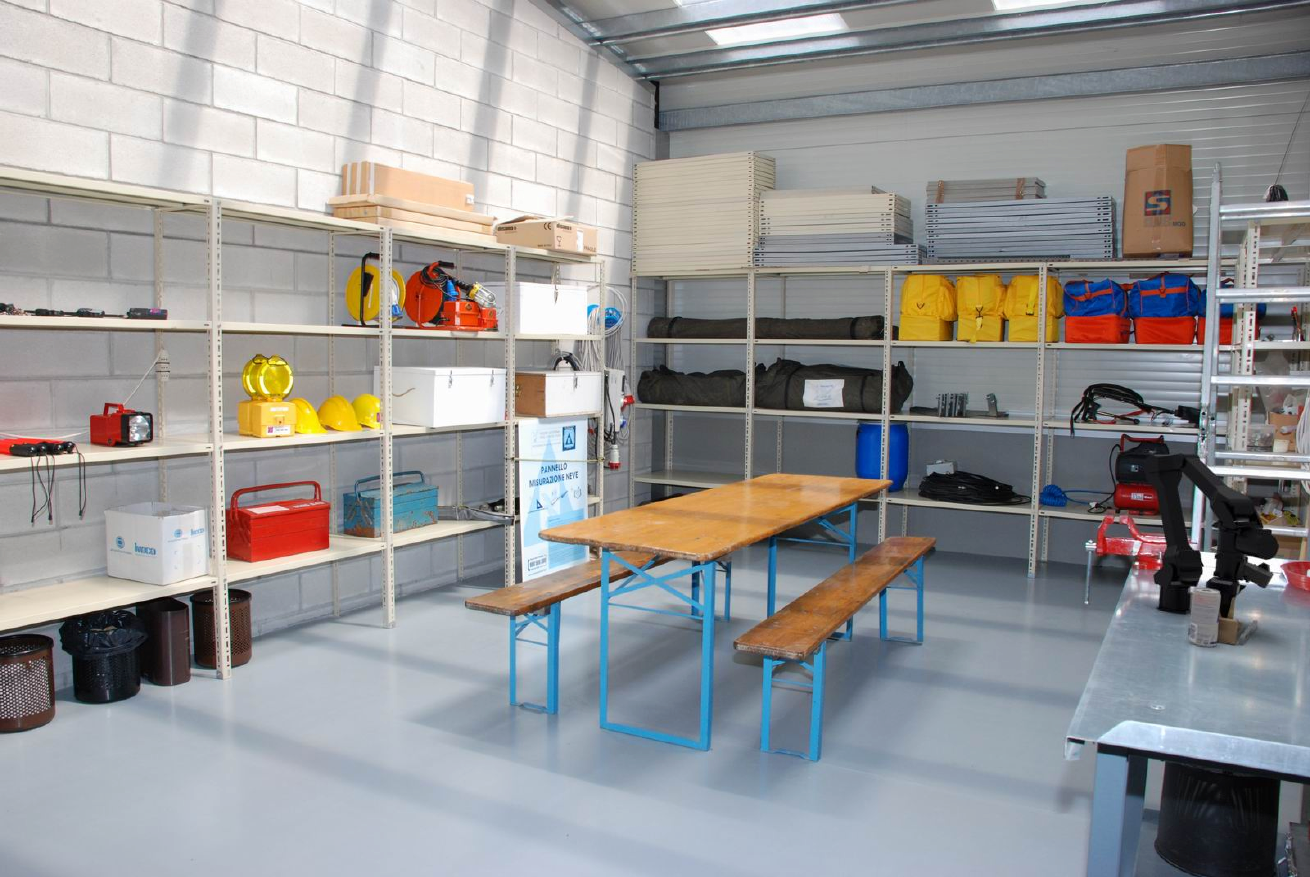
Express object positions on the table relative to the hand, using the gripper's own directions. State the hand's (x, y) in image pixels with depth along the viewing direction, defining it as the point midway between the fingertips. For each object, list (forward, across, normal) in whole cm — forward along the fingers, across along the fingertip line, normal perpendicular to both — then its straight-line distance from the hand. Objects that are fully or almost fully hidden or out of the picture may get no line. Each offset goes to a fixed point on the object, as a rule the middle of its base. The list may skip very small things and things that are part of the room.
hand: (1225, 616), depth 227 cm
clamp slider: (+3, -6, 0) cm, 6 cm away
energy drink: (+3, -17, +2) cm, 17 cm away
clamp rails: (+3, -2, 0) cm, 4 cm away
